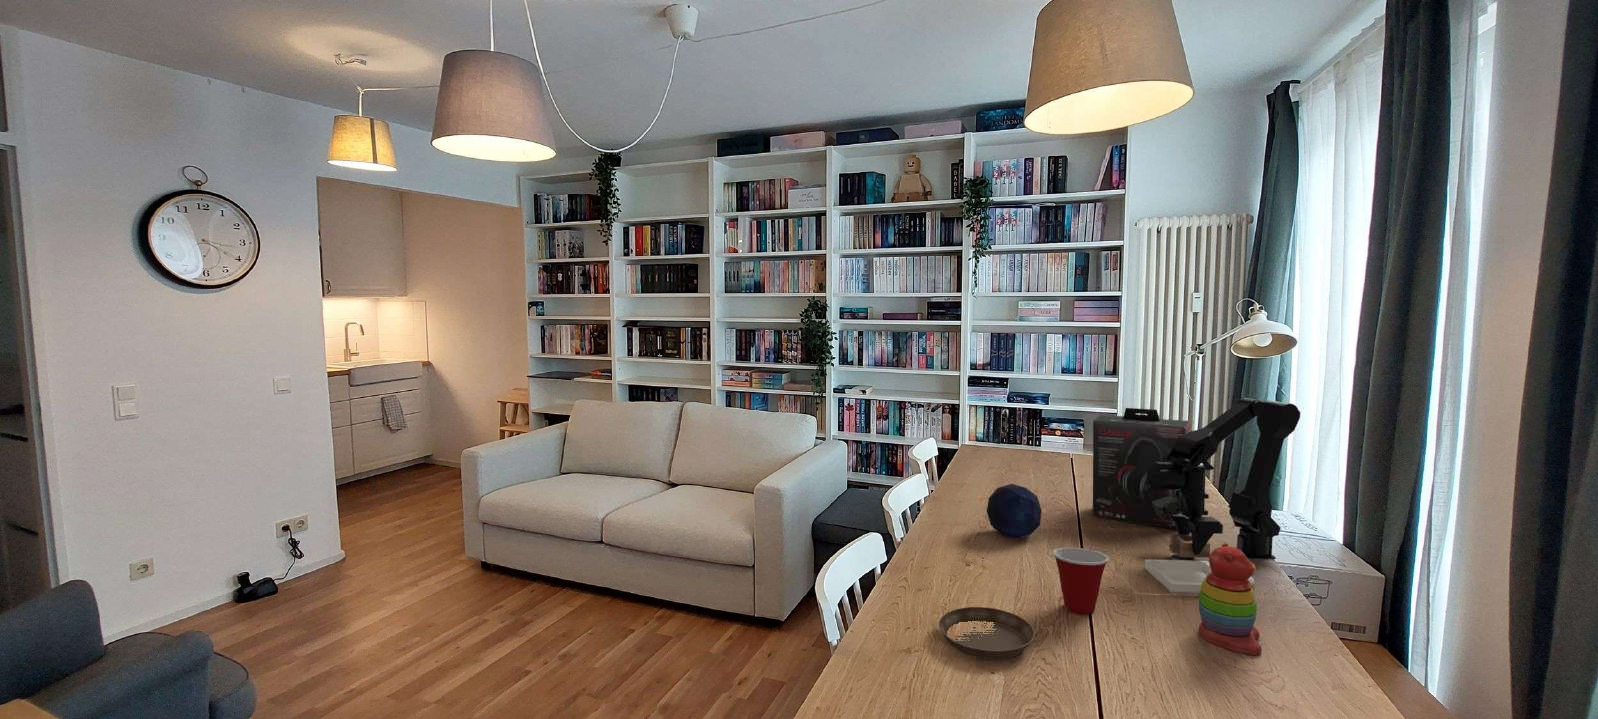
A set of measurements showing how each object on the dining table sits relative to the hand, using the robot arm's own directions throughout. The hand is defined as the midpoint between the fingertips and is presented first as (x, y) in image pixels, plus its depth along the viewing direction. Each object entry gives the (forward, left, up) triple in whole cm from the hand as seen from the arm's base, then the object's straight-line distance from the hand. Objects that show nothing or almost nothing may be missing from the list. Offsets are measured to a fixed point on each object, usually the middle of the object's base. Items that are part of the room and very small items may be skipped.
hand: (1189, 549), depth 163 cm
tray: (+6, +13, -3) cm, 15 cm away
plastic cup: (+35, +28, -3) cm, 45 cm away
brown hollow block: (0, 0, -1) cm, 1 cm away
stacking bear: (+11, +39, -3) cm, 41 cm away
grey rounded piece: (0, 0, -3) cm, 3 cm away
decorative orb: (+39, -16, -3) cm, 42 cm away
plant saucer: (+57, +43, -3) cm, 71 cm away
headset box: (-1, -33, -3) cm, 33 cm away
